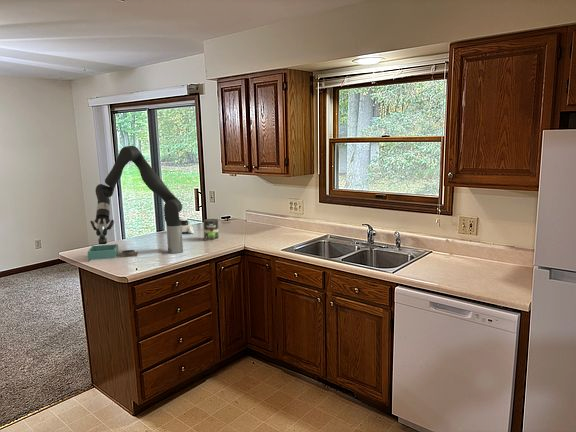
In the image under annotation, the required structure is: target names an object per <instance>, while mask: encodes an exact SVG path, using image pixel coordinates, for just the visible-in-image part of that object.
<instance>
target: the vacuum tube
mask: <svg viewBox="0 0 576 432" xmlns="http://www.w3.org/2000/svg"><path fill="white" fill-rule="evenodd" d="M98 227H99V236H98V237H99V238H98V239H97V240H98V241H97V242H98V245H108V244H107V243H108V242H107V239H108V238H106V236H104V229H105V227H104V224H98Z"/></svg>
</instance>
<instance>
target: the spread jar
mask: <svg viewBox="0 0 576 432" xmlns="http://www.w3.org/2000/svg"><path fill="white" fill-rule="evenodd" d="M179 219H180V220H181V225H182V235H186V234H189V233H190V234H194V233H195V231H194V230H195V229H194V227H193V225H192V224H189V221H188V217H183V216H181V217H179Z"/></svg>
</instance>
